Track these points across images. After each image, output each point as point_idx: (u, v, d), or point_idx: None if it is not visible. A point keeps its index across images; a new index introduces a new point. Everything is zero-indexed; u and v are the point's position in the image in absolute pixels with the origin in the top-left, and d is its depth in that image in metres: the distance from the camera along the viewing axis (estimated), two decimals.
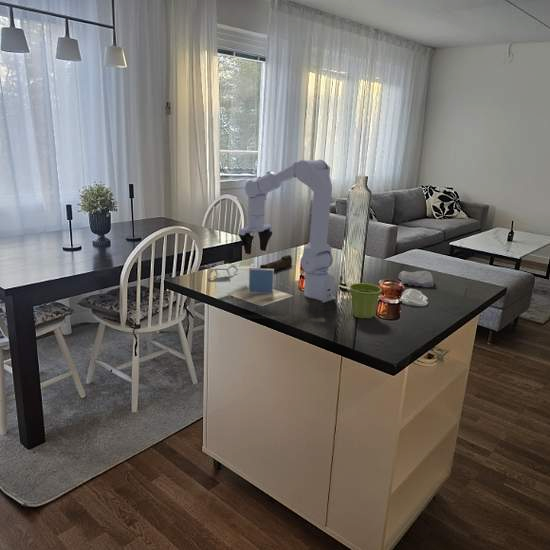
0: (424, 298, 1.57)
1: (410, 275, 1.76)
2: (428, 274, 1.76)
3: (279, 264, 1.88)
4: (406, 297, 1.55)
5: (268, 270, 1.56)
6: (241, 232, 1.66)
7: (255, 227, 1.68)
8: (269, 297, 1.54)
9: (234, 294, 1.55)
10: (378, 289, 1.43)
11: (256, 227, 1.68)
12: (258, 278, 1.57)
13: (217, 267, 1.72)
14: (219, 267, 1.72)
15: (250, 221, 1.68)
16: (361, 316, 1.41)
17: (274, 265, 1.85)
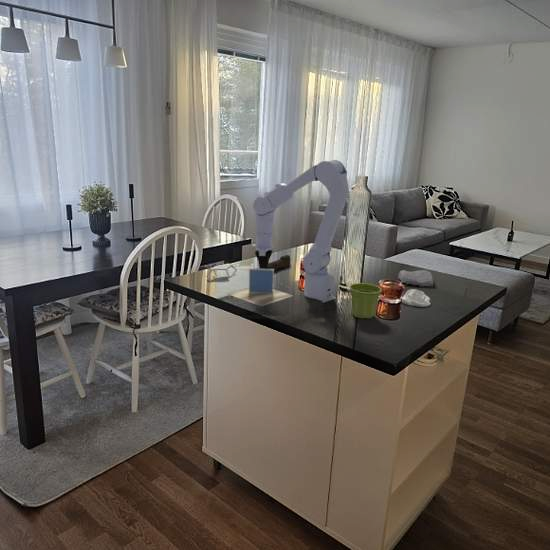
0: (427, 298, 1.57)
1: (410, 274, 1.77)
2: (428, 273, 1.77)
3: (278, 264, 1.88)
4: (408, 298, 1.55)
5: (268, 270, 1.56)
6: (262, 253, 1.56)
7: (269, 245, 1.60)
8: (269, 297, 1.54)
9: (234, 294, 1.55)
10: (378, 289, 1.43)
11: (269, 245, 1.60)
12: (258, 278, 1.57)
13: (216, 267, 1.72)
14: (218, 267, 1.72)
15: (263, 240, 1.59)
16: (361, 316, 1.41)
17: (274, 265, 1.85)
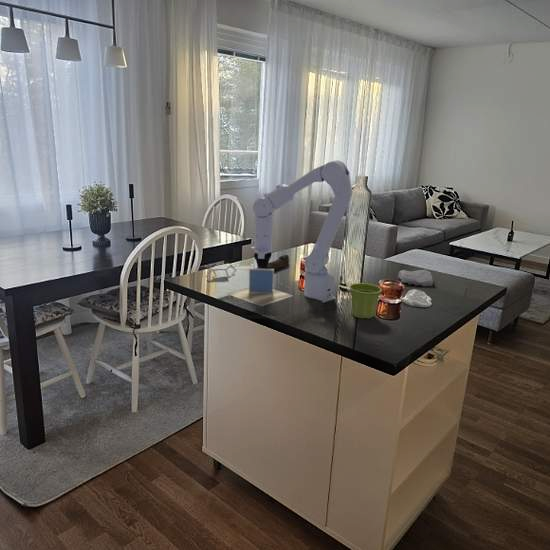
0: (428, 299, 1.56)
1: (409, 274, 1.77)
2: (427, 273, 1.77)
3: (278, 264, 1.88)
4: (410, 298, 1.55)
5: (268, 270, 1.56)
6: (261, 255, 1.52)
7: (268, 248, 1.57)
8: (269, 297, 1.54)
9: (234, 294, 1.55)
10: (378, 289, 1.43)
11: (269, 248, 1.57)
12: (258, 278, 1.57)
13: (215, 267, 1.72)
14: (217, 267, 1.72)
15: (262, 242, 1.55)
16: (361, 316, 1.41)
17: (273, 265, 1.85)
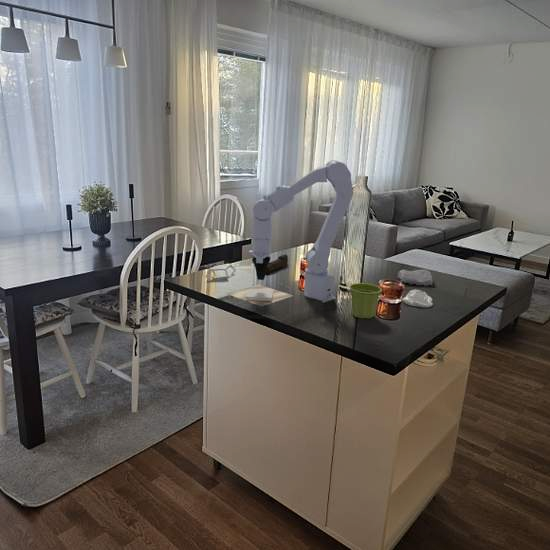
0: (429, 299, 1.56)
1: (409, 274, 1.78)
2: (427, 273, 1.78)
3: (277, 264, 1.89)
4: (411, 298, 1.54)
5: (266, 300, 1.50)
6: (259, 260, 1.47)
7: (266, 252, 1.51)
8: None
9: (234, 294, 1.55)
10: (378, 289, 1.43)
11: (267, 252, 1.51)
12: None
13: (215, 267, 1.72)
14: (217, 267, 1.72)
15: (261, 246, 1.50)
16: (361, 316, 1.41)
17: (273, 265, 1.86)
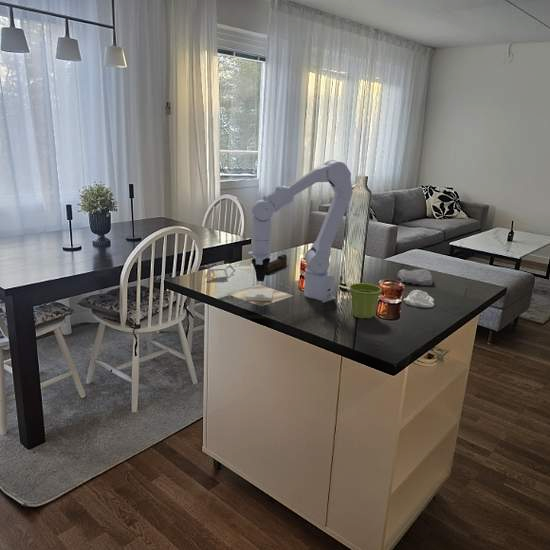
0: (430, 299, 1.56)
1: (409, 273, 1.78)
2: (427, 272, 1.78)
3: (277, 264, 1.89)
4: (412, 298, 1.54)
5: (266, 300, 1.50)
6: (259, 261, 1.45)
7: (266, 253, 1.50)
8: None
9: (234, 294, 1.55)
10: (378, 289, 1.43)
11: (267, 253, 1.50)
12: None
13: (214, 268, 1.71)
14: (216, 267, 1.72)
15: (260, 247, 1.49)
16: (361, 316, 1.41)
17: (273, 265, 1.86)
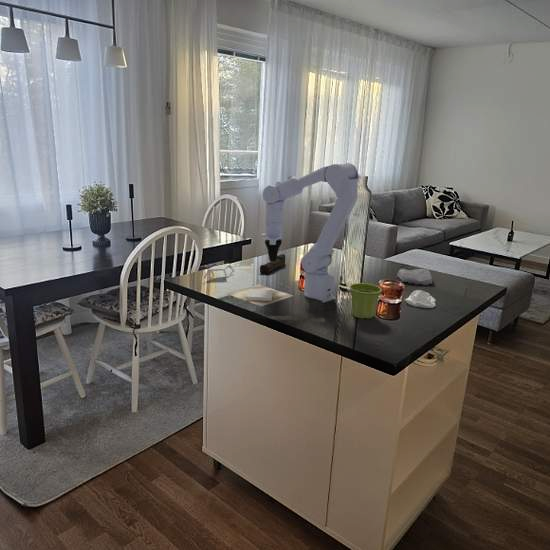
0: (432, 300, 1.56)
1: (409, 273, 1.79)
2: (426, 272, 1.79)
3: (277, 263, 1.89)
4: (414, 299, 1.54)
5: (266, 300, 1.50)
6: (272, 242, 1.56)
7: (279, 235, 1.60)
8: None
9: (234, 294, 1.55)
10: (378, 289, 1.43)
11: (279, 234, 1.60)
12: None
13: (213, 268, 1.71)
14: (215, 268, 1.71)
15: (273, 229, 1.59)
16: (361, 316, 1.41)
17: (273, 265, 1.86)
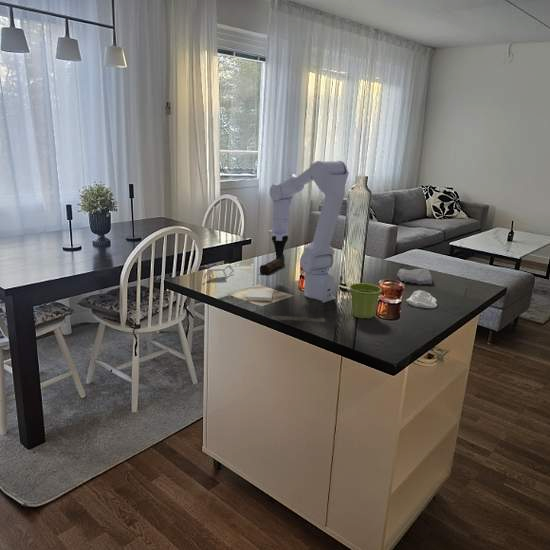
0: (433, 300, 1.56)
1: (409, 273, 1.79)
2: (426, 272, 1.79)
3: (276, 263, 1.89)
4: (415, 299, 1.54)
5: (266, 300, 1.50)
6: (279, 238, 1.62)
7: (285, 231, 1.67)
8: None
9: (234, 294, 1.55)
10: (378, 289, 1.43)
11: (286, 231, 1.67)
12: None
13: (213, 268, 1.71)
14: (215, 268, 1.71)
15: (280, 226, 1.66)
16: (361, 316, 1.41)
17: (273, 265, 1.86)
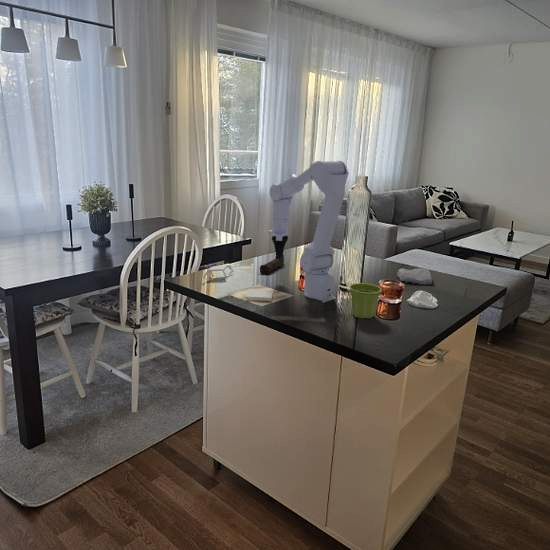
0: (434, 300, 1.55)
1: (409, 273, 1.80)
2: (426, 271, 1.80)
3: (276, 263, 1.89)
4: (416, 299, 1.54)
5: (266, 300, 1.50)
6: (279, 238, 1.62)
7: (285, 231, 1.67)
8: None
9: (234, 294, 1.55)
10: (378, 289, 1.43)
11: (286, 231, 1.67)
12: None
13: (213, 268, 1.71)
14: (215, 268, 1.71)
15: (280, 226, 1.66)
16: (361, 316, 1.41)
17: (273, 264, 1.86)
